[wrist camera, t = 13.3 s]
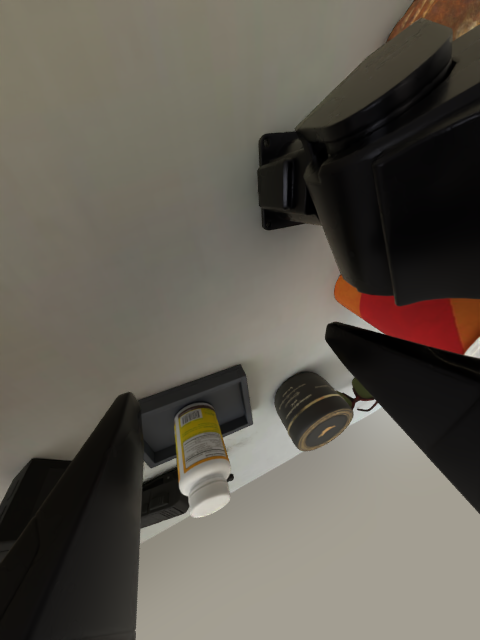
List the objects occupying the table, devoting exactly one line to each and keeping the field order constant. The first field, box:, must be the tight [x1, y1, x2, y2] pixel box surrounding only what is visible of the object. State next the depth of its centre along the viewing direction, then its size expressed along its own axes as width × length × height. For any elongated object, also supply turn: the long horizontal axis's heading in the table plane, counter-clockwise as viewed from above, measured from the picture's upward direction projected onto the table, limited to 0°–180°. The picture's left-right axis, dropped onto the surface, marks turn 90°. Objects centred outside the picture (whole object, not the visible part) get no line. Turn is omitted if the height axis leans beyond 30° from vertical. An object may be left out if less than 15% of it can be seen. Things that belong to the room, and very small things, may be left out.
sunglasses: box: [336, 378, 378, 411], centre depth 42 cm, size 14×15×5 cm
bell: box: [386, 0, 480, 43], centre depth 14 cm, size 12×12×7 cm
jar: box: [275, 372, 353, 451], centre depth 31 cm, size 10×10×8 cm
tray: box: [138, 365, 253, 468], centre depth 27 cm, size 16×12×2 cm
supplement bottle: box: [174, 403, 231, 518], centre depth 23 cm, size 6×6×10 cm
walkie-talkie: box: [140, 469, 234, 529], centre depth 32 cm, size 6×6×20 cm
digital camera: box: [0, 459, 71, 563], centre depth 23 cm, size 10×5×7 cm, turn 43°
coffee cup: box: [334, 275, 480, 358], centre depth 20 cm, size 8×8×15 cm
